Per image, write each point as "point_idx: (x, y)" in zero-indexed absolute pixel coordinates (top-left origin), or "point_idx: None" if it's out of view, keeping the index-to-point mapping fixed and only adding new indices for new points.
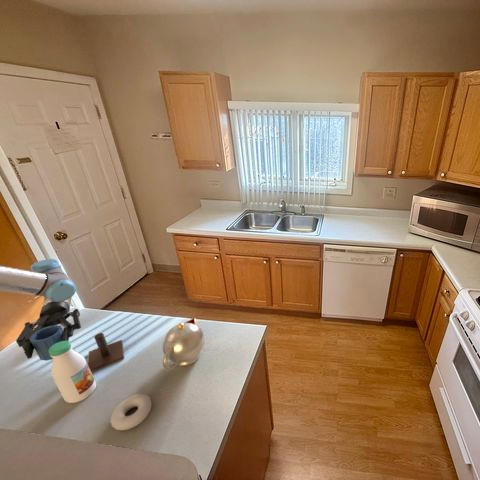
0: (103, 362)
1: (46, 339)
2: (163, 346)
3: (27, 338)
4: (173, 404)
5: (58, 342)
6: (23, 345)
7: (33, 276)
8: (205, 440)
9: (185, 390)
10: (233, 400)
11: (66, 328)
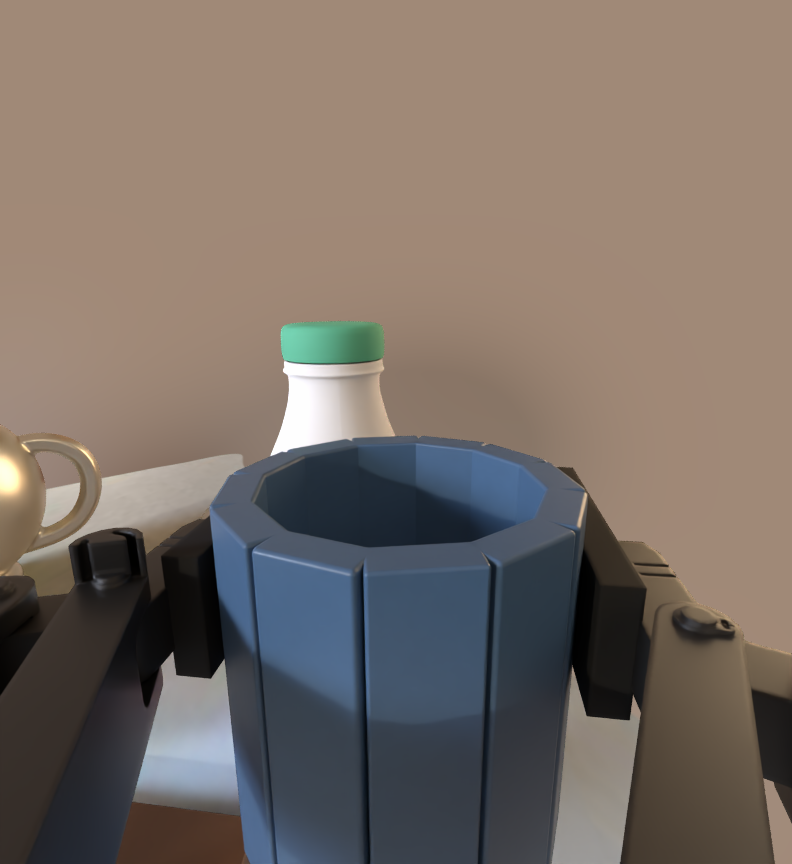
0: (148, 826)
1: (400, 436)
2: (8, 472)
3: (679, 613)
4: (176, 517)
5: (326, 324)
6: (664, 567)
7: None
8: (208, 465)
9: (121, 527)
10: (102, 478)
11: (180, 543)
